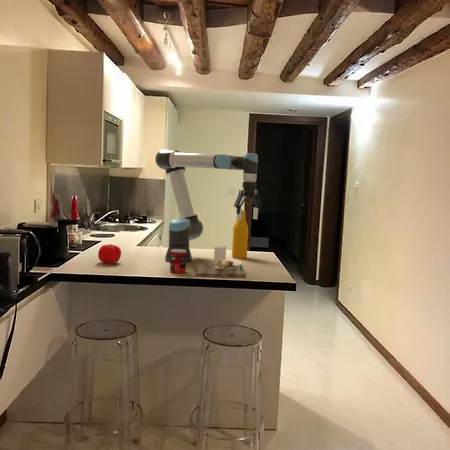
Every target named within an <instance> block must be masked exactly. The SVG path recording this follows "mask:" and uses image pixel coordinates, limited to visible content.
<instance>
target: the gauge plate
mask: <svg viewBox="0 0 450 450" xmlns="http://www.w3.org/2000/svg"><path fill="white" fill-rule="evenodd" d="M224 261H225V262H229V266H226V267H225V269H215V268H214V267H216V266H217V263H215V264H213V263H210V264H209V263H195V277H211V278H212V277H213V278H236V279H237V278H239V279H240V278H241V279H242V278H244V279H245V278H246V273H245V271H244V268H243V264H241V263H240V264H234V262H233V261H232V260H224ZM225 262H224V263H225Z"/></svg>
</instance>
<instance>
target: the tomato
mask: <svg viewBox="0 0 450 450" xmlns="http://www.w3.org/2000/svg"><path fill="white" fill-rule="evenodd" d="M97 256H98V260H99V261H100V262H101V263H103V264H111V265H112V264H116V263H118V262H119V260H120V258H121V256H122V250H121V248H120V247H119V246H117V245H115V244H111V243H110V244H104V245H101V247H100V248H99V249H98V253H97Z"/></svg>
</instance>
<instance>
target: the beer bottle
mask: <svg viewBox="0 0 450 450" xmlns="http://www.w3.org/2000/svg"><path fill="white" fill-rule="evenodd" d="M246 220H247V219H246V210H245V209H242V214H241V220H237V218H236V219H235V221H234V223H233V227H232V241H231V242H232V244H231V245H232V246H231V257H232V259H237V260H243V259H244V260H245V259H247V257H248V239H249V226H248V222H247V221H246Z"/></svg>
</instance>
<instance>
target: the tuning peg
mask: <svg viewBox="0 0 450 450" xmlns="http://www.w3.org/2000/svg"><path fill="white" fill-rule="evenodd" d="M226 255H227V245H218V246H214V254H213V261H214V262H217V263H216V264H217V266H216V267H214V268H215V269H225V267H226V266H229V262H224V261H227V260H226V258H227V256H226Z"/></svg>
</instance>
